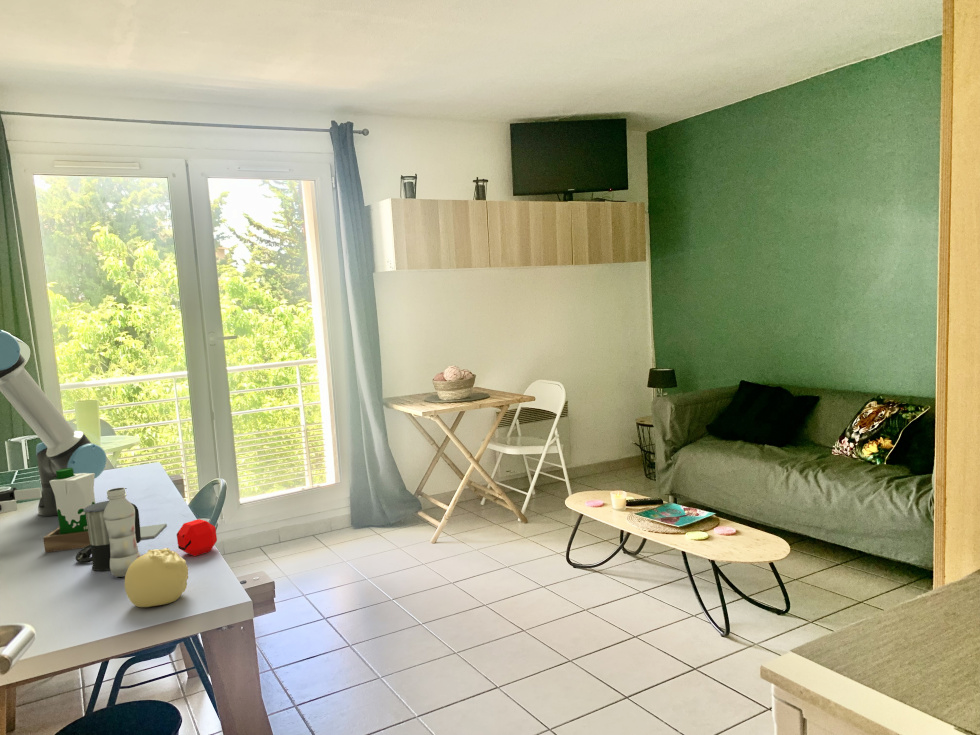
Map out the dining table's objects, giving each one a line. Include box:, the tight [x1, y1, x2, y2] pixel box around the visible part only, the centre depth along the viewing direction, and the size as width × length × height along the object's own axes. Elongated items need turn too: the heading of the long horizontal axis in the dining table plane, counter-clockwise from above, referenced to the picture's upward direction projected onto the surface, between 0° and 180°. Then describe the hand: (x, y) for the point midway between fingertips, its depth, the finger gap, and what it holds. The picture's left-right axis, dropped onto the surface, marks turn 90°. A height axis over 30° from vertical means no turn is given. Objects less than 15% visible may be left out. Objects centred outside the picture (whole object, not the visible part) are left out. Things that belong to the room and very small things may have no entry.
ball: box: [176, 518, 218, 557], centre depth 180 cm, size 8×8×8 cm
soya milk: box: [49, 468, 96, 535], centre depth 198 cm, size 9×9×20 cm
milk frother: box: [75, 500, 142, 572], centre depth 178 cm, size 14×16×15 cm
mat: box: [140, 523, 168, 540], centre depth 201 cm, size 11×11×1 cm
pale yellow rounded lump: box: [124, 547, 189, 608], centre depth 150 cm, size 12×12×11 cm
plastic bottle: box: [103, 487, 141, 578], centre depth 167 cm, size 6×7×20 cm
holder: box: [42, 526, 90, 554], centre depth 198 cm, size 13×13×4 cm
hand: (28, 498), depth 196 cm, fingers open, 13 cm apart
